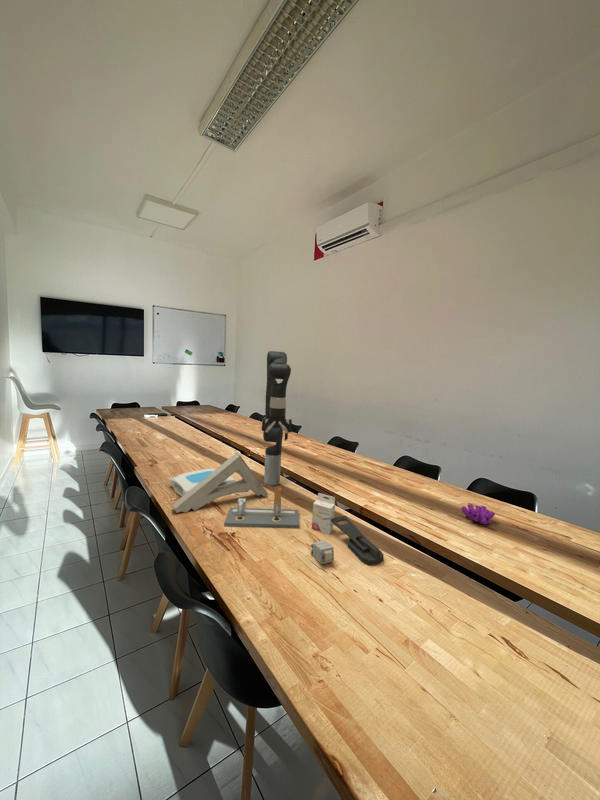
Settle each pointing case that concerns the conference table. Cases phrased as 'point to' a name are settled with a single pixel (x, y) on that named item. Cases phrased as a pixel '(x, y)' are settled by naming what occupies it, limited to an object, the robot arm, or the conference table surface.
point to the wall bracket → (211, 491)
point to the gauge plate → (261, 517)
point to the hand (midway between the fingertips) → (276, 440)
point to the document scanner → (193, 480)
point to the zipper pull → (359, 543)
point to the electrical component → (322, 551)
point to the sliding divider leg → (277, 501)
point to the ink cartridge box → (323, 513)
